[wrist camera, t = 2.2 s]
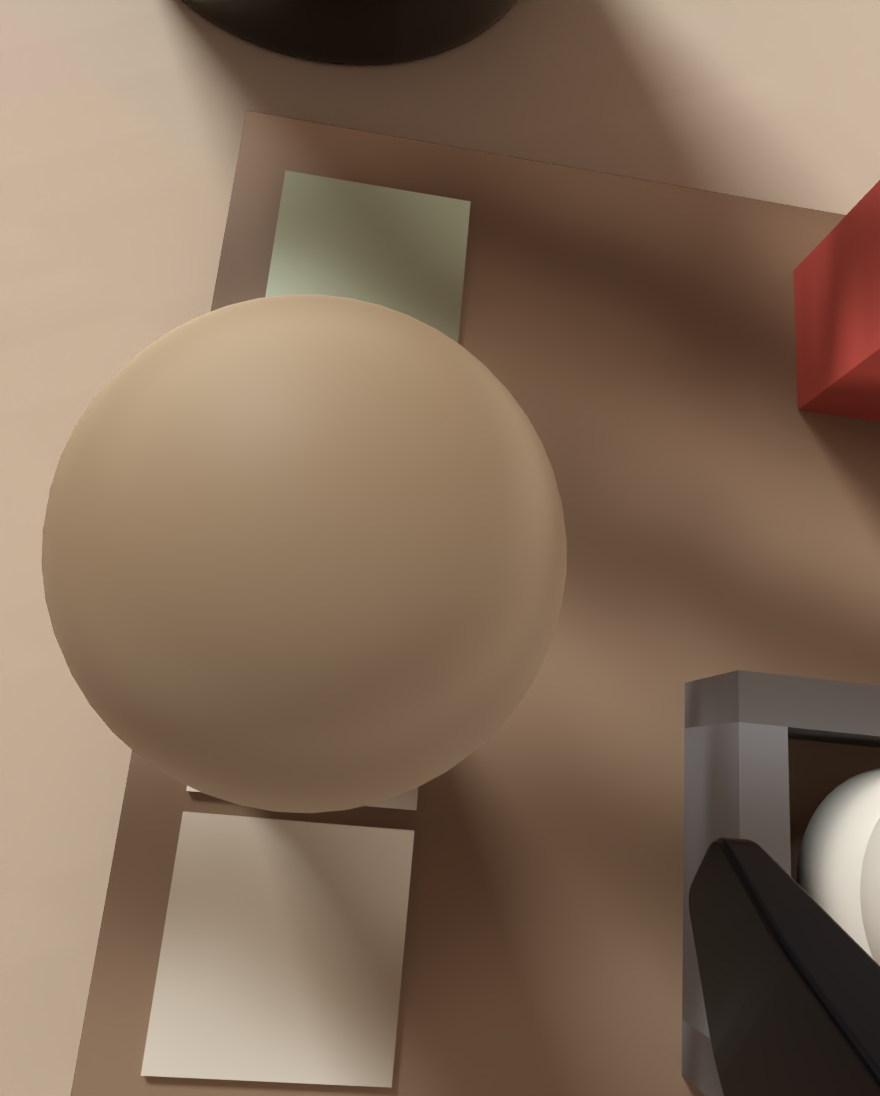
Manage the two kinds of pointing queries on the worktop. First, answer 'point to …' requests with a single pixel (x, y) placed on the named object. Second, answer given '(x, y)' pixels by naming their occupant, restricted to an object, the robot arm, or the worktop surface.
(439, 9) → the jar
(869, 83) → the worktop surface
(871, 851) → the dome
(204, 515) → the pawn
